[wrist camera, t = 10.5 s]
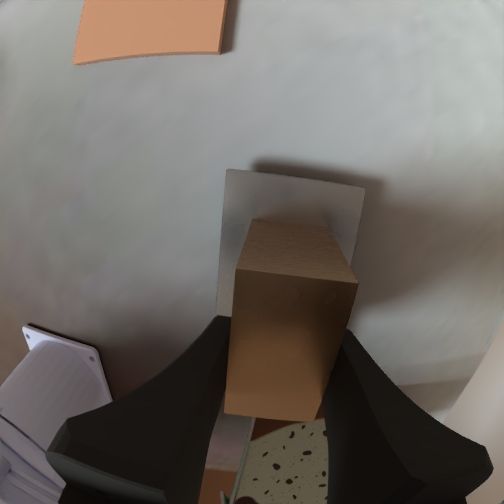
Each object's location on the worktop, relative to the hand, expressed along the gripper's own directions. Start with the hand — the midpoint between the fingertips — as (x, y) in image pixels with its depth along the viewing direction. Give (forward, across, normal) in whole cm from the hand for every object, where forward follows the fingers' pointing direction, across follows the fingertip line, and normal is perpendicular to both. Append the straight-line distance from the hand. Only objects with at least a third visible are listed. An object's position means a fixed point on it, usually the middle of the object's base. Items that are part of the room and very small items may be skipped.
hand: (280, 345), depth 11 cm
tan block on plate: (+5, 0, 0) cm, 5 cm away
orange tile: (+6, +8, -11) cm, 15 cm away
